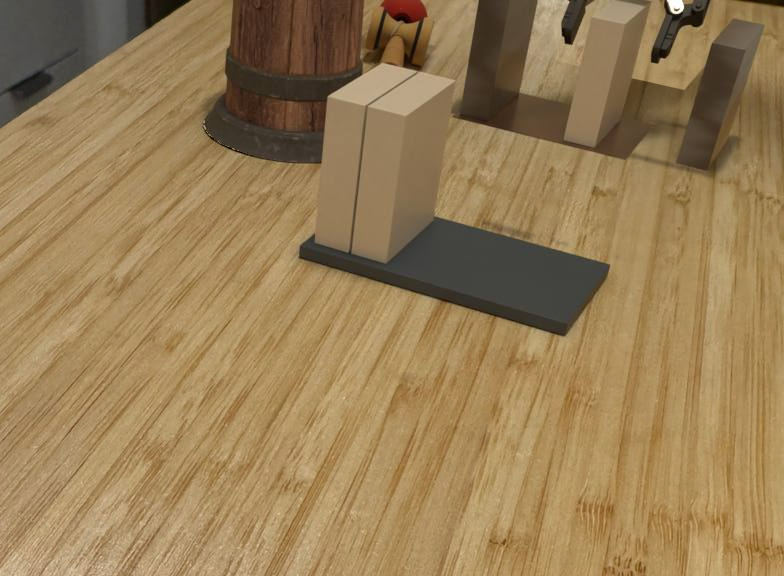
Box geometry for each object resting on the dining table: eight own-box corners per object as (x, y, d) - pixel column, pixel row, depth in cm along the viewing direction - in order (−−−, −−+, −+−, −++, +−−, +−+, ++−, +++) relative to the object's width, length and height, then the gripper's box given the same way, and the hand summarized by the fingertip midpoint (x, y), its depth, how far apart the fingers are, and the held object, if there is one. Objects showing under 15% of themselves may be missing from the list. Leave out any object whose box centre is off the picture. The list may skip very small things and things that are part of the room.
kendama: (428, 108, 122) (439, 35, 133) (426, 47, 117) (437, -23, 128) (357, 112, 123) (373, 40, 134) (351, 52, 118) (369, -18, 130)
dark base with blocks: (607, 275, 92) (650, 121, 84) (564, 336, 84) (607, 171, 76) (360, 207, 98) (378, 57, 90) (298, 257, 90) (311, 97, 82)
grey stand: (729, 153, 115) (772, 23, 107) (705, 190, 107) (749, 53, 99) (489, 95, 123) (512, -31, 114) (449, 126, 114) (471, -7, 106)
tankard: (352, 175, 103) (380, -81, 89) (176, 142, 105) (178, -113, 92) (406, 98, 120) (436, -128, 106) (253, 70, 122) (264, -153, 109)
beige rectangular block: (620, 119, 117) (651, 1, 110) (594, 148, 110) (625, 23, 103) (590, 112, 118) (619, -6, 111) (563, 140, 111) (591, 16, 104)
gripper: (744, -68, 110) (681, 88, 110) (601, -95, 114) (541, 56, 114) (753, -127, 103) (686, 41, 103) (601, -153, 107) (536, 8, 107)
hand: (610, 48), depth 108 cm, fingers open, 8 cm apart
